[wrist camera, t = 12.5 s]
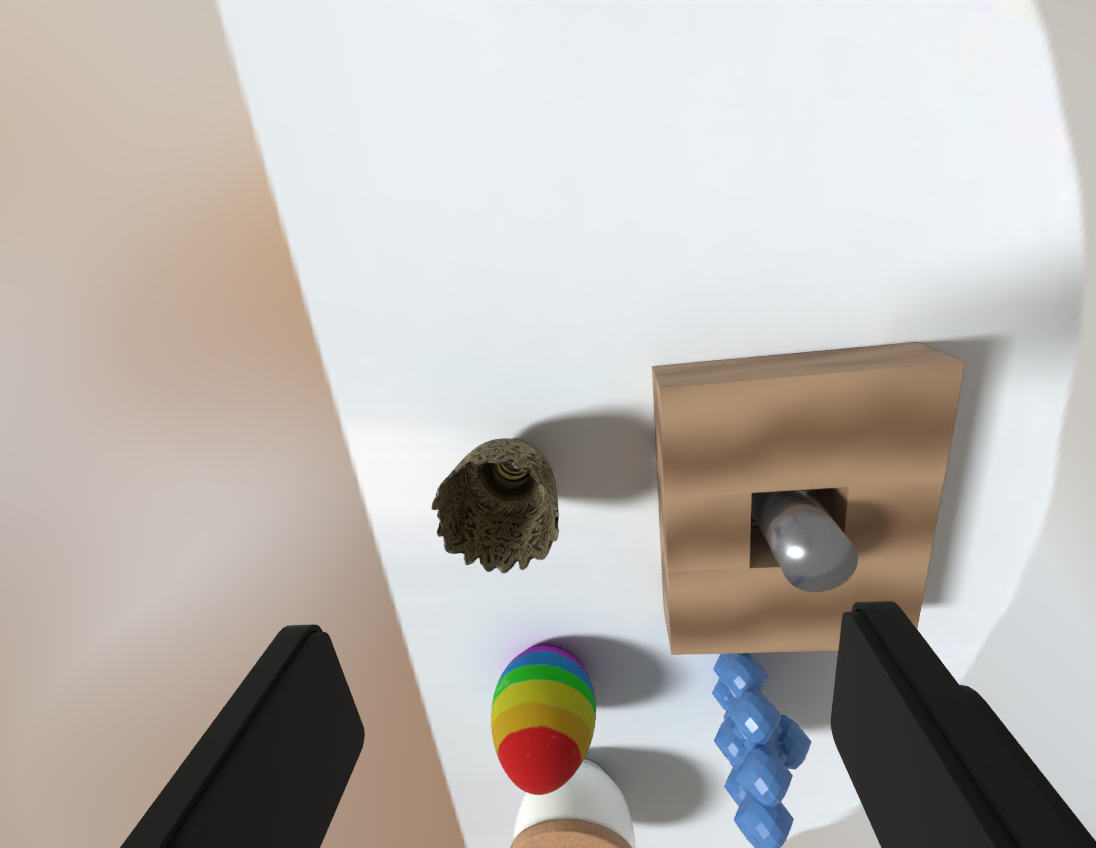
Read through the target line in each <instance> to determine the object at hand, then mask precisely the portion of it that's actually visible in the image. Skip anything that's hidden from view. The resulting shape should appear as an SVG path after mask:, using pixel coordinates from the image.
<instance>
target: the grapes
mask: <svg viewBox="0 0 1096 848" xmlns="http://www.w3.org/2000/svg"><path fill="white" fill-rule="evenodd" d="M713 670H714V671H715V672H716V674H717V675H718V676H719V677H720V678H719V680H718V682H717V684H716V686H715V688H714V690H713V692H712V694H713V695H714V697H715V698H716V699H717V701H718V702H719V703H720V705H721V706H722V707H723V709H725V710H726V713H725V715H724V717H723V718H724V719H725V721H724V722H723V723H722V724H721V726H720V728H719V731H718V733H717V735H716V737H715V739H714V742H715V743H716V745H717V746H718V747H719V749H720V750H721V752H722V753H723V754H724V756H725V757H726V758H727V759H728V760H729V761H730V764H731V765H732V766H733V769H732V770H731V772H730V774H729V777H728V779H727V781H726V784H725V786H724V787H725V788H726V790H727V791H728V792H729V794H730V795H731V797H732V798H733V799H734V801H735V802H736V803H737V805H738V806H739V808H738V810H737V813H736V816H735V818H734V821H735V823H736V824H737V826H738V827H739V829H740V830H741V832H742V833H743V834H744V836H745V837H746V838H747V840H748V841H749V842H750V843H751V844H752V845H753V846H754V847H755V848H780V847H781V846H782V845H783V844H784V842H785V841H786V839H787V836H788V834H789V831H790V829H791V826H792V823H793V820H794V819H793V817H792V816H791V815H790V813H789V812H788V811H787V809H786V808H785V807H784V805H783V804H782V803H781V801H782V799H783V798H784V797H785V794H786V792H787V790H788V787H789V785H790V782H791V779H792V776H793V775H792V774H791V773H790V771H789V770H788V769H796V768H797V767H798V766H800V765H801V764H802V762H803V761H804V760H805V757H806V755H807V753H808V750H809V747H810V744H811V741H810V739H809V738H808V737H807V735H806V734H805V733H804V732H803V730H802V729H801V728H800V727H799V725H798V724H797V723H795V722H794V721H793V720H791V719H790V718H789V717H787V716H786V715H780V714H779V712H778V711H777V710H776V708H775V707H774V706H773V705H772V703H771V702H770V701H769V700H768V698H766V697H765V696H764V695H762V694H761V690H762V688H763V686H764V684H765V682H766V679H767V677H768V675H767V674H766V672H765V671H764V670H763V669H762V667H761V666H760V665H759V664H758V662H757V661H756V660H755V659H754V658H752V657H751V656H750V655H748V654H747V653H723V654H721V655H720V657H719V659H718V661H717V663H716V665H715V667H714V669H713ZM787 768H788V769H787Z"/></svg>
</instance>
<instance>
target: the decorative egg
mask: <svg viewBox="0 0 1096 848" xmlns="http://www.w3.org/2000/svg"><path fill="white" fill-rule="evenodd" d="M595 720H596V703H595V696H594V691H593V687H592V684H591V681H590V679H589V676H588V674H587V673H586V671H585V669H584V668H583V666H582V665H581V664H580V662H579V661H578V660H577V659H576V658H575V657H574V656H573V655H571V654H570V653H569V652H567V651H565V650H563V649H561V648H558V647H553V646H536V647H532V648H530V649H528V650H526V651H524V652H522V653H521V654H519V655H518V656H517V657H516V658H514V659H513V660H512V661H511V663H510V664H509V665H508V666H507V667H506V669H505V670H504V672H503V673H502V675H501V677H500V679H499V681H498V684H497V687H496V690H495V693H494V697H493V703H492V711H491V727H492V736H493V742H494V746H495V750H496V753H497V756H498V758H499V761H500V763H501V765H502V767H503V769H504V771H505V772H506V774H507V775H508V777H509V778H510V779H511V780H512V782H513V783H514V784H515V785H516V786H517V787H519V788H520V789H521V790H523V791H525V792H527V793H530V794H533V795H544V794H549V793H551V792H554V791H555V790H557V789H559V788H560V787H562V786H563V785H564V784H565V783H566V782H568V781H569V780H570V779H571V777H572V776H573V775H574V774H575V773H576V771H577V770H578V769H579V767H580V766H581V764H582V762H583V760H584V759H585V756H586V754H587V752H588V750H589V747H590V744H591V740H592V737H593V733H594V727H595Z"/></svg>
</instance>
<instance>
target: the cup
mask: <svg viewBox="0 0 1096 848" xmlns="http://www.w3.org/2000/svg"><path fill="white" fill-rule="evenodd" d="M508 463H511V464H512V466H513V467H514V468H516V469H520V470H518V471H512V470H509V469H508V468H506V467H505V464H508ZM437 509H438V514H437V517H438V518H439V520H440V523H439V527H438V530H437V534H438V536H439V537H441V536H443V537H444V548H445V550H446V551H447V552H448V553H451V554H457V553H463V554H464V560H465V564H466V565H470V564H472V563H474V561H475V560H476V559H477V558H480V563H481V564H482V565H483V567H484V569H485V570H486V571H487V572H490V571H492V570H493V569H494V568H498V570H499V571H501V573H506V572H508V571H509V570H510V569H511V568H512V567H513V566H514V564H515V563H516V562H517V561H518V562H519V566H520V567H519V568H520V569H521V570H524V569H525V568H526V567H527V566H528V564H529V562H530V560H531V559H533V558H536V559H537V560H543V559H545V557H546V556H547V554H548V553H549V551H550V548H551V546H552V543H553V541H556V540H557V538H558V533H559V530H558V517H559V513H558V499H557V489H556V483H555V478H554V475H553V472H552V469H551V467H550V465H549V463H548V462H547V460H546V459H545V457H544V456H543V455H542V454H541V453H540V452H539V451H538V450H537V449H535V448H534V447H532V446H531V445H529V444H527V443H525V442H523V441H519V440H515V439H507V438H506V439H495V440H491V441H488V442H485V443H483V444H482V445H480V446H478V447H476V448H475V449H474V450H472V451H471V452H470V453H469V454H468V455H467V456H466V457H465V458H464V459H463V460H462V461H461V462H460V463H459V464H458V465H457V466H456V468H455V469H454V470H453V471H452V472H451V473H450V475H449V476H448V477H447V478H446V479H445V480H444V481H443V482H442V483H441V485H440V486H439V488H438V490H437V493H436V498H435V499H434V501H433V503H432V510H437Z"/></svg>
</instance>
